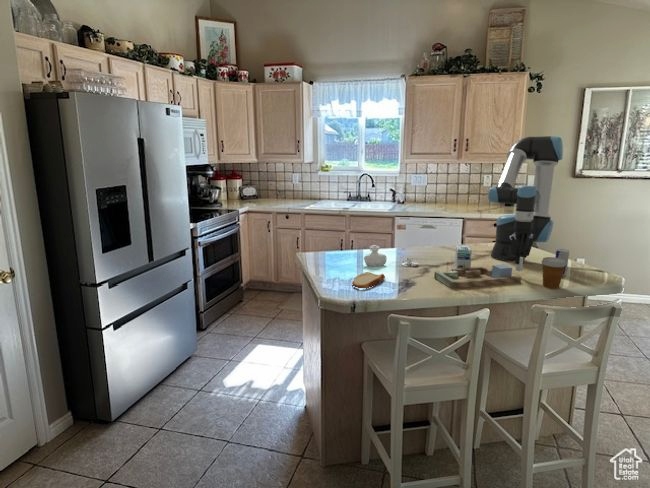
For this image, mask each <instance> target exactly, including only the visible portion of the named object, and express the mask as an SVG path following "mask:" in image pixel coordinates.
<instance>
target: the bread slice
mask: <svg viewBox="0 0 650 488" xmlns="http://www.w3.org/2000/svg"><path fill="white" fill-rule="evenodd" d="M384 279H386V275H385V274H384V273H381V274H375V273H372V272H370V271H366V272H363V273H360V274H358V275H356V276H355V277H354V278H353V281H352V284H353V286H355V287H358V288H369V287H372V286H374V285H376V286H378V285H380V284H381V283H382V282H383V280H384ZM380 282H381V283H380ZM352 284H351V285H352ZM353 286H352V287H353ZM374 287H375V286H374ZM372 288H373V287H372Z"/></svg>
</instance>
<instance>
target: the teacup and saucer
mask: <svg viewBox="0 0 650 488" xmlns="http://www.w3.org/2000/svg"><path fill="white" fill-rule="evenodd" d="M413 259H414V258H413V257H412V256H407V257H405V261H406V262H402V263H401V265H402V266H404V267H408V266H411V267H417V266H419V263H418V262H413ZM406 264H407V265H406Z"/></svg>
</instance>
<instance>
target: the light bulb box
mask: <svg viewBox="0 0 650 488" xmlns="http://www.w3.org/2000/svg"><path fill="white" fill-rule="evenodd" d="M472 252H473V251H472V249H471V247H470V245H462V244H455V260H454V267H455V269H462V268H472V267H471V265H472Z"/></svg>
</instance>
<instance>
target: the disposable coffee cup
mask: <svg viewBox="0 0 650 488" xmlns="http://www.w3.org/2000/svg"><path fill="white" fill-rule="evenodd" d="M555 257H556V256H555ZM555 257H550V256H547V257H545V256H544V257H543V258H542V260H541V264H542V286H543V287H545V288H546V289H554V290H556V289H560V286H561V282H562V278H563V277H562V275H563V271H564V267H565V265H566V262H565V260H564V259H560V258H555Z"/></svg>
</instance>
